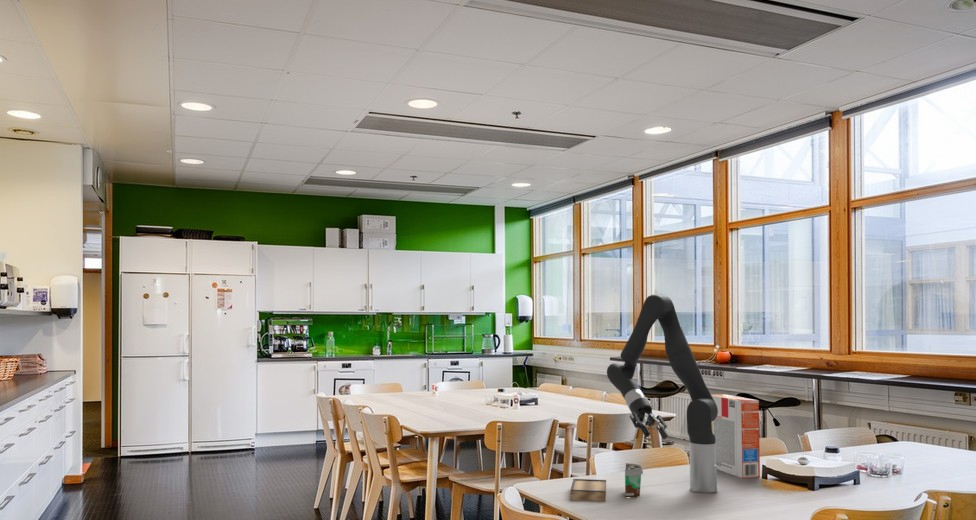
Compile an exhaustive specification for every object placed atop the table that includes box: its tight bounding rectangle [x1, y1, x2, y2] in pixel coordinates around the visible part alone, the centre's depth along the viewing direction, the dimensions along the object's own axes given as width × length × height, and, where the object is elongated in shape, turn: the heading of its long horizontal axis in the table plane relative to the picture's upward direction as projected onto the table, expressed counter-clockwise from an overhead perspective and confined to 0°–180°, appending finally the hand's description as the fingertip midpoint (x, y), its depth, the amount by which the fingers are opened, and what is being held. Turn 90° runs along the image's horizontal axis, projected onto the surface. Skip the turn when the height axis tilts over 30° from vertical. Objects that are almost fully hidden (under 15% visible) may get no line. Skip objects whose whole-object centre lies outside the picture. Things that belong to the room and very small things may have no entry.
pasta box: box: [711, 393, 761, 479], centre depth 318 cm, size 23×8×30 cm, turn 17°
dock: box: [570, 478, 607, 502], centre depth 277 cm, size 12×18×3 cm, turn 171°
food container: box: [624, 462, 644, 498], centre depth 276 cm, size 12×6×10 cm, turn 168°
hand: (657, 436), depth 283 cm, fingers open, 8 cm apart
